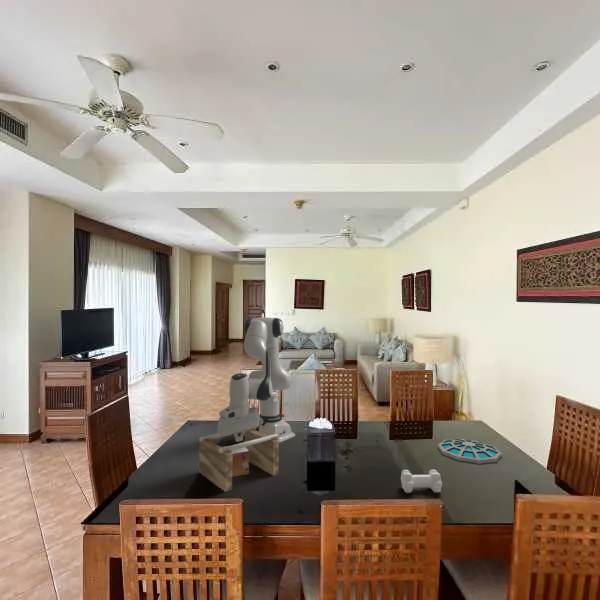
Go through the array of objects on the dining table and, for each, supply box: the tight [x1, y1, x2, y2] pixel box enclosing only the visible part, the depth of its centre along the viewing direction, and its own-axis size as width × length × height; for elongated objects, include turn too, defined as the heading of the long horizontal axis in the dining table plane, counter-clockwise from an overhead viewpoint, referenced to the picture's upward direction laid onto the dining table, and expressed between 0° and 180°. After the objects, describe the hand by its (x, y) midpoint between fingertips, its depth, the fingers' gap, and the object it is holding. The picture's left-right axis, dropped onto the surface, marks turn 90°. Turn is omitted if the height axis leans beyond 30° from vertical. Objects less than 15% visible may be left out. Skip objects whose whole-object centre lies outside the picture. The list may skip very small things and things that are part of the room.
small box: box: [231, 447, 250, 478], centre depth 174 cm, size 8×6×10 cm
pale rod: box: [198, 429, 249, 443], centre depth 181 cm, size 30×2×2 cm, turn 130°
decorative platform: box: [437, 438, 503, 465], centre depth 200 cm, size 31×29×5 cm
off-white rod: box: [219, 434, 278, 453], centre depth 167 cm, size 30×2×2 cm, turn 130°
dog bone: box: [400, 469, 443, 494], centre depth 158 cm, size 15×9×8 cm, turn 91°
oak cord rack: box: [198, 428, 280, 493], centre depth 174 cm, size 27×24×16 cm
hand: (239, 440), depth 174 cm, fingers closed
